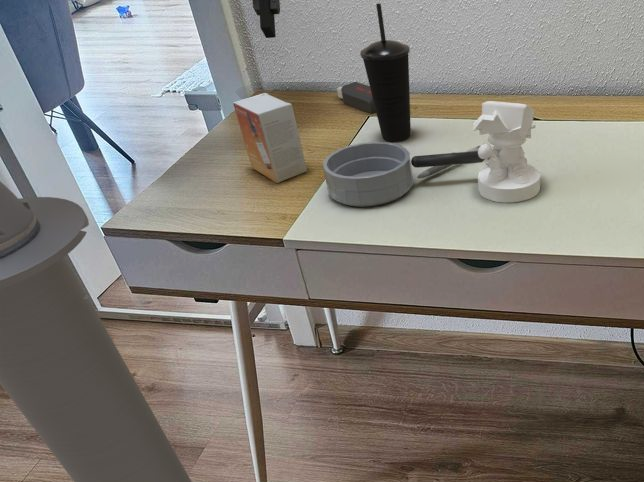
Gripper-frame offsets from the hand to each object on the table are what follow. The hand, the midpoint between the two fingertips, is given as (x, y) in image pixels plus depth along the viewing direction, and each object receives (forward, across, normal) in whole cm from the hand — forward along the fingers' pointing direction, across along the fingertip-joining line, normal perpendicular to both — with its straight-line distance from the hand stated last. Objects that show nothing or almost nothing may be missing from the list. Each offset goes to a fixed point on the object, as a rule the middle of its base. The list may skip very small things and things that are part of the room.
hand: (268, 32), depth 97 cm
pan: (+28, -15, +4) cm, 32 cm away
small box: (+21, 0, -2) cm, 21 cm away
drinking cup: (+14, -18, -10) cm, 25 cm away
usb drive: (+2, -11, -22) cm, 25 cm away
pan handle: (+26, -26, +6) cm, 37 cm away
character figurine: (+30, -35, +6) cm, 46 cm away
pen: (+24, -27, 0) cm, 36 cm away
